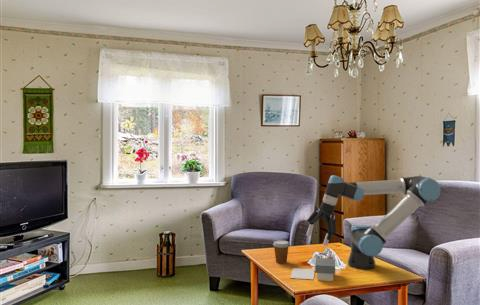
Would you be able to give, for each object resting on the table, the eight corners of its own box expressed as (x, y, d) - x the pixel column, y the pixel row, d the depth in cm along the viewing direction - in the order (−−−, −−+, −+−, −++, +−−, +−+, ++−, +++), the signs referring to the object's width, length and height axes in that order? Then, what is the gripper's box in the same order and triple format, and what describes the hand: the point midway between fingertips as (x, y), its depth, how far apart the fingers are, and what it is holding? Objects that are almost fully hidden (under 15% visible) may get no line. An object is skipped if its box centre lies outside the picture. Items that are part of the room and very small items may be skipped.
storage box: (333, 273, 220) (333, 261, 219) (333, 281, 209) (333, 267, 208) (317, 272, 221) (317, 260, 221) (317, 280, 210) (317, 266, 210)
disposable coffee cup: (287, 265, 235) (287, 244, 235) (271, 263, 238) (271, 243, 238) (291, 260, 244) (290, 240, 244) (275, 259, 247) (275, 239, 247)
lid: (335, 266, 220) (334, 258, 220) (335, 274, 207) (335, 266, 207) (316, 265, 222) (316, 257, 222) (315, 272, 210) (315, 265, 209)
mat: (314, 270, 226) (314, 269, 226) (313, 280, 210) (313, 279, 210) (293, 268, 229) (293, 268, 229) (290, 278, 213) (290, 277, 213)
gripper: (308, 195, 228) (296, 230, 229) (340, 209, 207) (327, 248, 208) (318, 197, 232) (306, 232, 233) (350, 211, 212) (337, 250, 213)
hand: (316, 240), depth 221 cm, fingers open, 13 cm apart
